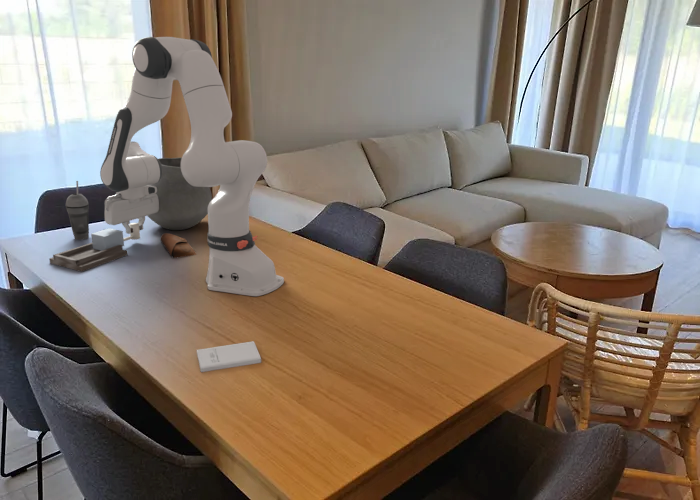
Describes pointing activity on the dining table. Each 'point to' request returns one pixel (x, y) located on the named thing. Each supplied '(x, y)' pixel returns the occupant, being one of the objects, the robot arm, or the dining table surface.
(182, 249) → the sunglasses case
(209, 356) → the external hard drive
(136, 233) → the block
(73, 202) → the beverage cup
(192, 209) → the ceramic pot
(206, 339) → the dining table surface
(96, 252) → the tray
